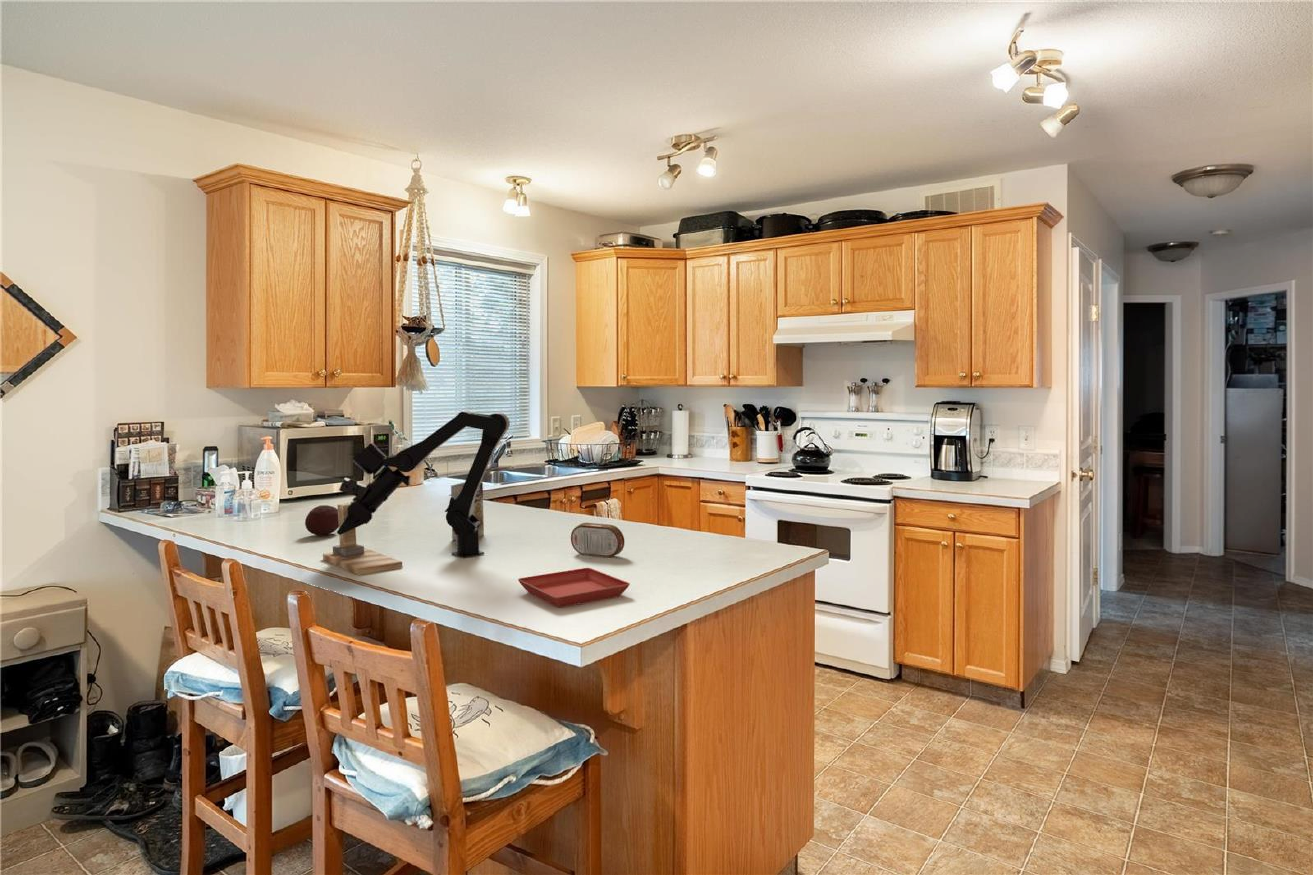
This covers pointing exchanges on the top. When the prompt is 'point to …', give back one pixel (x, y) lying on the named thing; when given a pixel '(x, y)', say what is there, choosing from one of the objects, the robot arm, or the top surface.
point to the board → (364, 562)
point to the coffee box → (477, 506)
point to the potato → (322, 520)
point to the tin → (597, 539)
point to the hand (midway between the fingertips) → (339, 532)
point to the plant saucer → (574, 586)
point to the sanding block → (347, 537)
